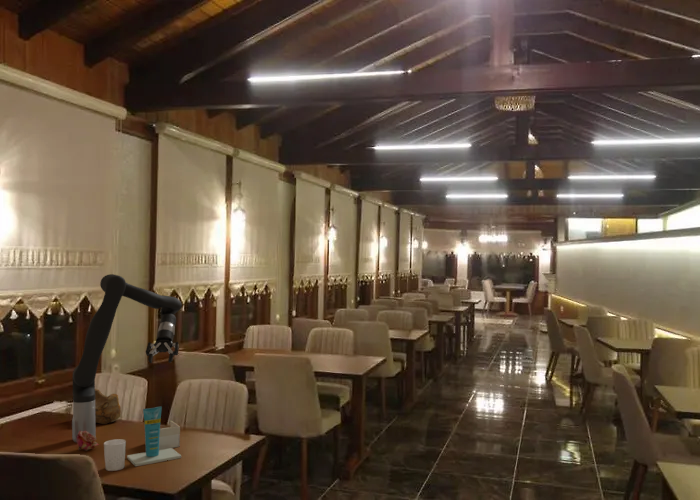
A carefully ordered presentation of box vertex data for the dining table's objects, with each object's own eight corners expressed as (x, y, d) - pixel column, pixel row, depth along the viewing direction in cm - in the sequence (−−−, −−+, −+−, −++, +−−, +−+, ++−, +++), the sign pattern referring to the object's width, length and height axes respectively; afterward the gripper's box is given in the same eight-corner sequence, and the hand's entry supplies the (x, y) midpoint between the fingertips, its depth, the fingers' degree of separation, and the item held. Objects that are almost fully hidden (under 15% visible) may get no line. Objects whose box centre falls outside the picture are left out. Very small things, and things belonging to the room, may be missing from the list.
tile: (135, 466, 244) (135, 463, 244) (127, 457, 255) (127, 455, 255) (181, 457, 254) (181, 455, 254) (171, 450, 265) (171, 447, 265)
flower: (70, 450, 260) (82, 434, 261) (68, 440, 268) (80, 424, 269) (91, 460, 265) (102, 444, 266) (88, 450, 273) (100, 434, 274)
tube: (145, 458, 250) (145, 409, 251) (141, 455, 254) (140, 407, 255) (163, 454, 255) (163, 407, 255) (159, 452, 259) (158, 405, 259)
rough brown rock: (64, 425, 312) (62, 395, 311) (92, 414, 327) (90, 386, 326) (97, 432, 302) (95, 401, 300) (124, 421, 316) (123, 391, 315)
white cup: (107, 465, 246) (107, 439, 246) (128, 464, 247) (128, 438, 247) (101, 472, 238) (101, 445, 238) (122, 471, 239) (122, 444, 239)
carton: (153, 451, 263) (153, 430, 264) (144, 443, 275) (144, 424, 275) (180, 446, 270) (180, 426, 270) (170, 439, 281) (170, 420, 281)
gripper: (148, 329, 295) (142, 357, 283) (179, 328, 296) (174, 356, 284) (152, 339, 300) (145, 367, 288) (182, 338, 301) (177, 366, 289)
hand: (160, 362), depth 286 cm, fingers open, 8 cm apart
